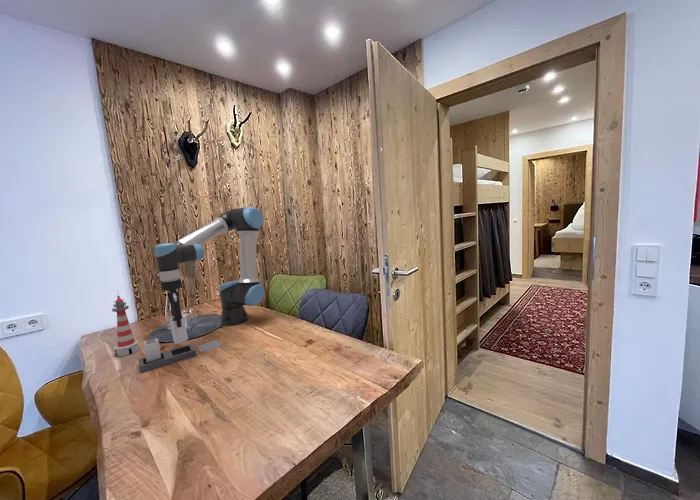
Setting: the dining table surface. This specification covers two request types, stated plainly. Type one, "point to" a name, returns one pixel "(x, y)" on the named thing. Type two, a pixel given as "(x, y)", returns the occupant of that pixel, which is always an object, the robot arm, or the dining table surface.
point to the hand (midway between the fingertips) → (179, 331)
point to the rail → (168, 358)
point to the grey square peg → (182, 336)
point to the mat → (209, 346)
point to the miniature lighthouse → (123, 331)
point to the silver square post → (152, 350)
